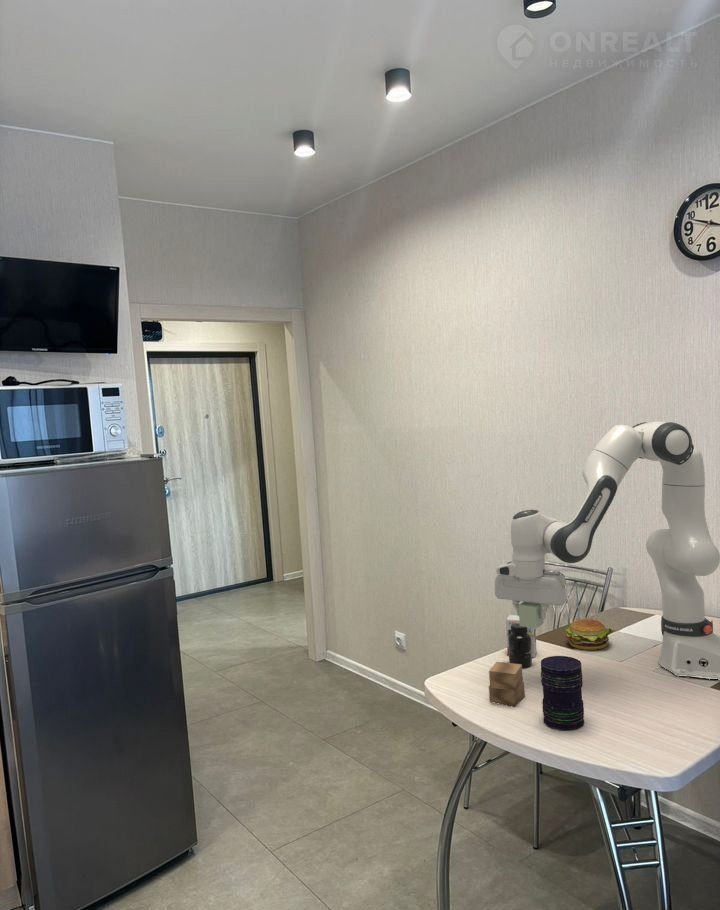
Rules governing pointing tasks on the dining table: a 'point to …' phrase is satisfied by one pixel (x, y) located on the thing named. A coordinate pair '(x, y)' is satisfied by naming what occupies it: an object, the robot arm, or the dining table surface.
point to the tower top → (506, 676)
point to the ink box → (531, 631)
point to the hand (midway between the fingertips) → (531, 617)
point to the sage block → (530, 614)
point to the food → (587, 634)
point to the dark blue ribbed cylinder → (562, 693)
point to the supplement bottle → (520, 646)
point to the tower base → (507, 695)
